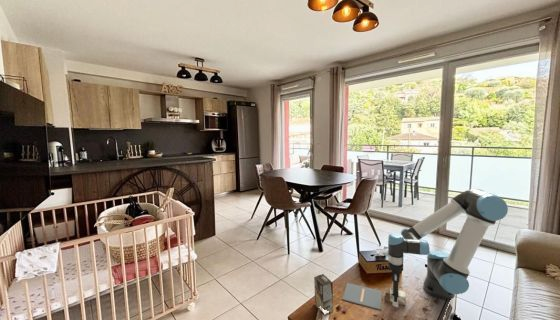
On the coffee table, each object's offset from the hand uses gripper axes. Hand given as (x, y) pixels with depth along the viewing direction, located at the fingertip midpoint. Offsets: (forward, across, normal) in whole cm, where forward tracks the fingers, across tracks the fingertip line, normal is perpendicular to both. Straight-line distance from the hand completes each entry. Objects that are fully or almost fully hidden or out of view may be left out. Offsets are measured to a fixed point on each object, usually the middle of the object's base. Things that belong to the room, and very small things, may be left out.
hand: (395, 298), depth 128 cm
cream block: (+1, 0, 0) cm, 1 cm away
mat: (+1, +4, -17) cm, 17 cm away
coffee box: (+1, +22, -35) cm, 41 cm away
